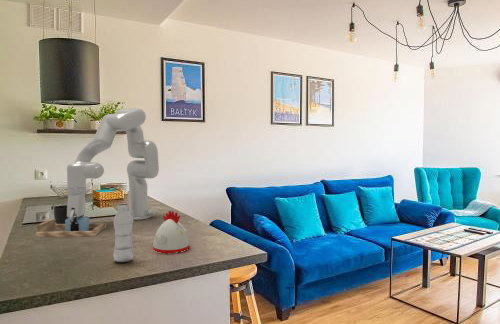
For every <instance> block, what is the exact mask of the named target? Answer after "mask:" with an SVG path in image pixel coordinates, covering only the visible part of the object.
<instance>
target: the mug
mask: <svg viewBox="0 0 500 324" xmlns="http://www.w3.org/2000/svg"><path fill="white" fill-rule="evenodd" d="M53 215H54V218H55V224H65V220H67V219H68V217H67V204H65V205H56V206H54V207H53Z"/></svg>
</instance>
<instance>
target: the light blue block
mask: <svg viewBox="0 0 500 324" xmlns="http://www.w3.org/2000/svg"><path fill="white" fill-rule="evenodd" d="M75 220H76V219H75ZM78 224H79V231H90V228H89V224H90V217H89V216H84V217H78ZM64 231H71V224H70V219H69V218H68V219H67V220H65V229H64Z"/></svg>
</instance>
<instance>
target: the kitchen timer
mask: <svg viewBox="0 0 500 324" xmlns="http://www.w3.org/2000/svg"><path fill="white" fill-rule="evenodd" d="M180 218H181V216H180V215H178V212H176V211H175V212H174V211H172V210H169V211H168V212H166V213H165V215H163V220H164V221H163V222H162V223H161V225H160V226H159V227H158V229H157V230H156V233H155V235H154V240H153V242H152V243H153V244H152V249H153V250H155V251H157V252H161V253H176V252H181V251H184V250H187V249H188V248H189V249H190V240H189V237H188V230H187V229H186V228H185V227H184V226H183V224H182V223H181V222H179V220H180ZM189 249H188V250H189ZM188 250H187V251H188Z"/></svg>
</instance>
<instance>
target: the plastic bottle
mask: <svg viewBox="0 0 500 324" xmlns="http://www.w3.org/2000/svg"><path fill="white" fill-rule="evenodd" d="M116 207H117V209H116V211H117V212H116V214H115V216H114V217H113V221H112V222H113V228H114V239H115V240H114V249H113V254H112V255H113V260H114V262H116V263H126V262H130V261H132V259H133V258H134V248H133V242H132V241H133V239H132V238H133V236H132V234H133V225H134V220H133V217H132V215H131V214H130V213H129V203H119V204H117V206H116Z"/></svg>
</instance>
